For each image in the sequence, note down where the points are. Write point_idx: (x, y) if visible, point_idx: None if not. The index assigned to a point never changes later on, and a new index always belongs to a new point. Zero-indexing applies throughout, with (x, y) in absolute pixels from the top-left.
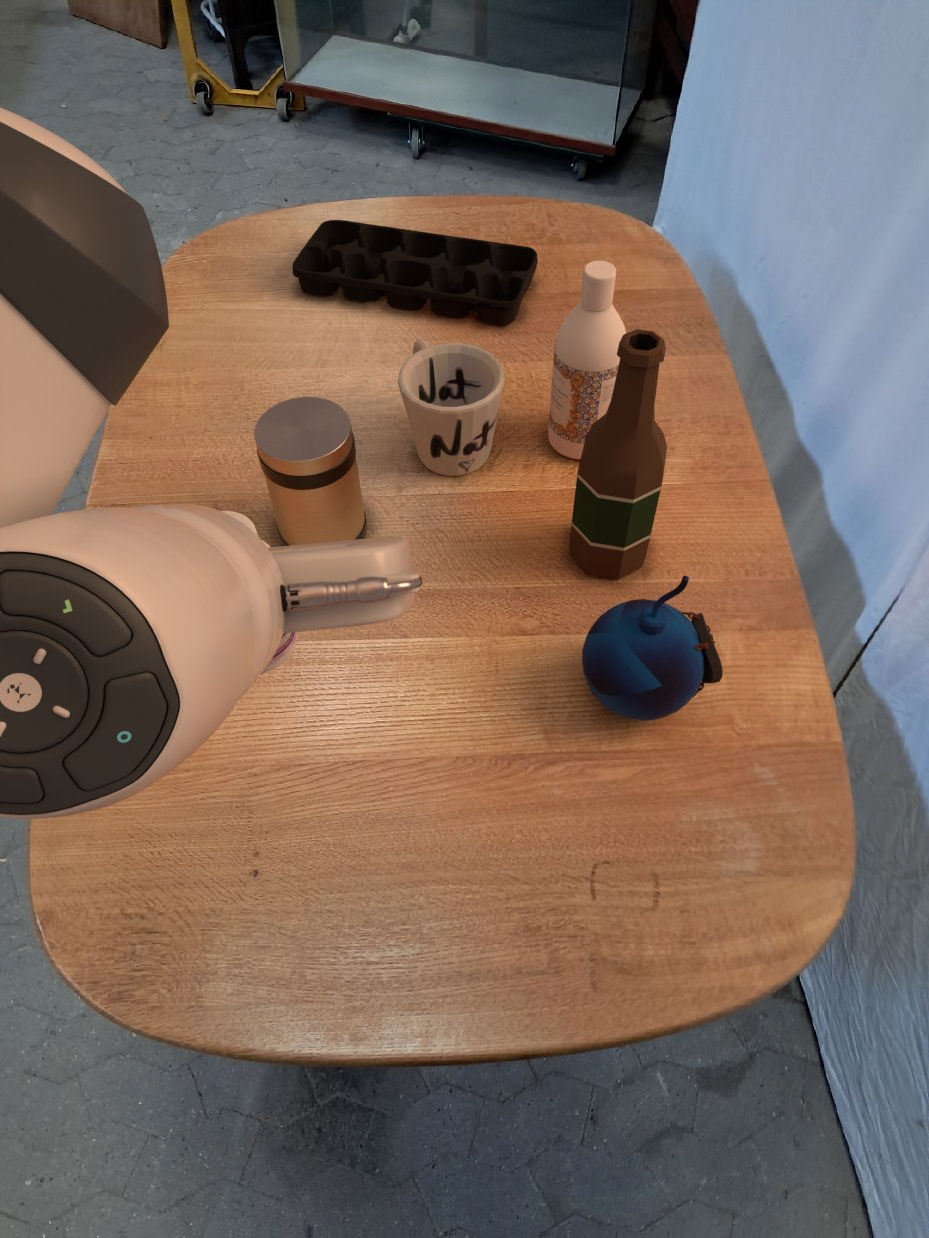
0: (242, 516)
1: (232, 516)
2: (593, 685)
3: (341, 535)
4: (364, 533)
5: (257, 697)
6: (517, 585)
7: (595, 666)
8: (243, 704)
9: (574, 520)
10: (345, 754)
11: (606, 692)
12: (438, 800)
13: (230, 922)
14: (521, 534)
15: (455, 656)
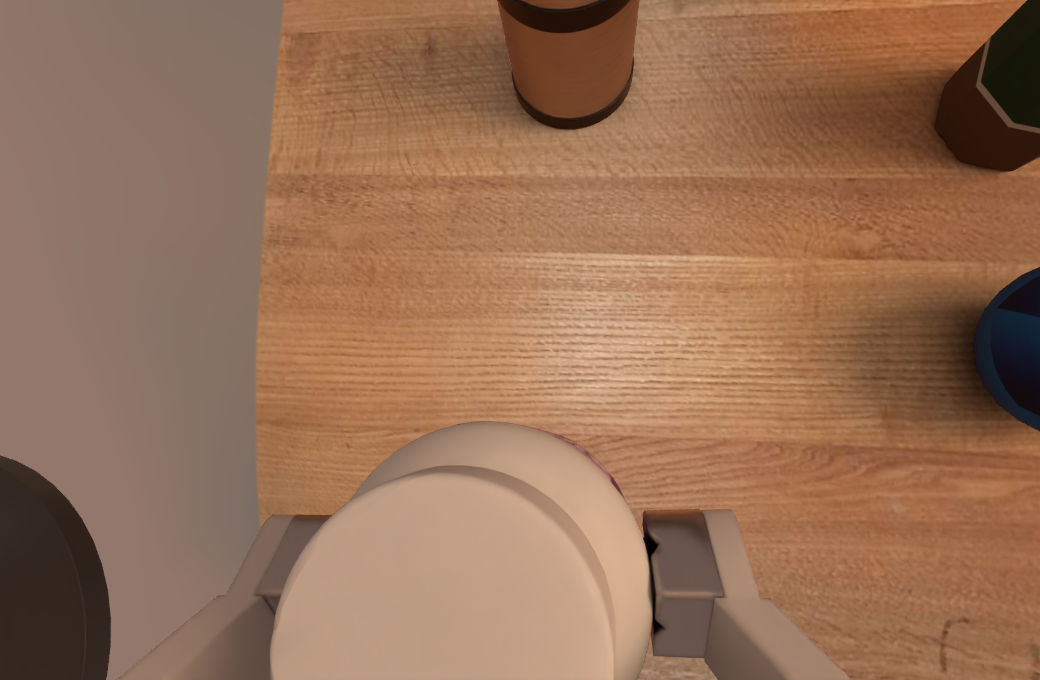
0: (540, 529)
1: (493, 524)
2: (1008, 391)
3: (604, 94)
4: (630, 84)
5: (495, 333)
6: (850, 175)
7: (1034, 374)
8: (478, 342)
9: (990, 81)
10: (609, 425)
11: (1037, 411)
12: (732, 504)
13: None
14: (859, 87)
15: (757, 287)
